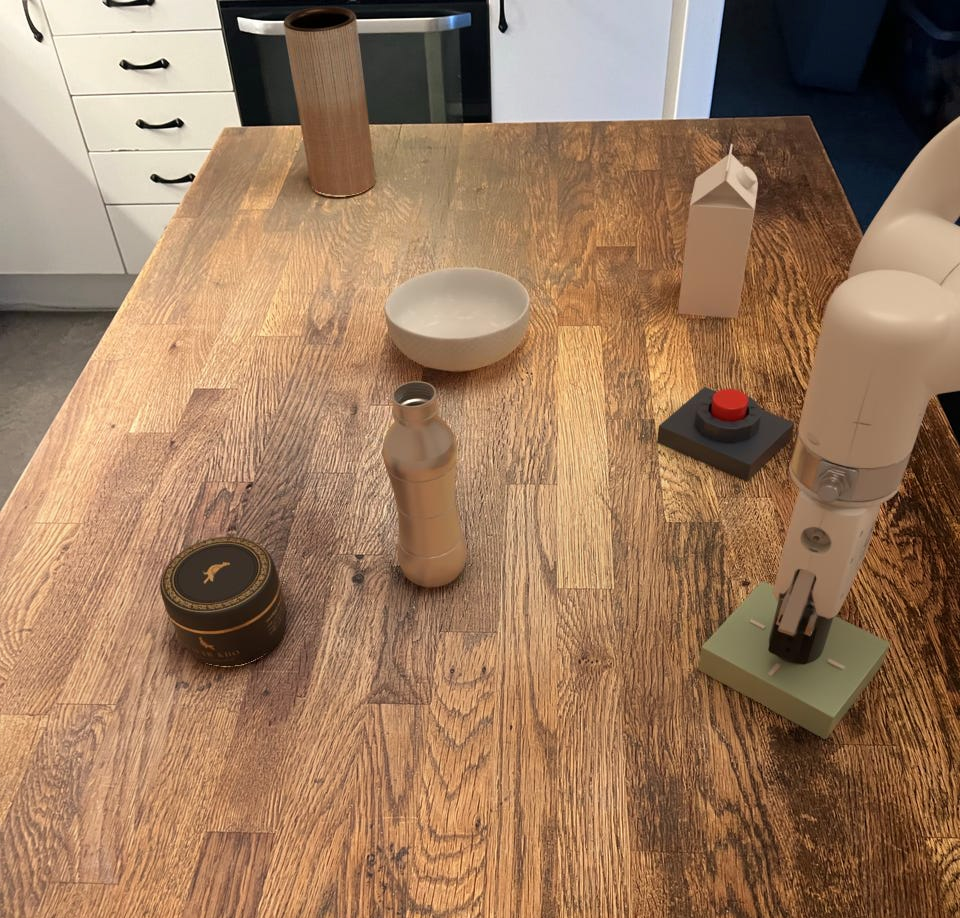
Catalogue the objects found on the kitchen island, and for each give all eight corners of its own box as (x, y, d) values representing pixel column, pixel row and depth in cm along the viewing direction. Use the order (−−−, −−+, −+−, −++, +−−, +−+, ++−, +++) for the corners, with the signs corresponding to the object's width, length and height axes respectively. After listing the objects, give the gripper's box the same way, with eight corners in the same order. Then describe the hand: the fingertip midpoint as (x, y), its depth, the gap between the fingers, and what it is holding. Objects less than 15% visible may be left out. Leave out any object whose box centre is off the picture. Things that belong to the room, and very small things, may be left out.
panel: (881, 666, 85) (891, 641, 82) (825, 740, 80) (834, 716, 77) (756, 603, 90) (762, 578, 88) (696, 669, 85) (701, 645, 83)
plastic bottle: (481, 561, 96) (470, 382, 81) (444, 606, 92) (425, 427, 77) (425, 540, 98) (404, 362, 83) (386, 583, 94) (357, 405, 79)
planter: (309, 175, 156) (281, 10, 139) (372, 167, 157) (352, 2, 140) (313, 202, 150) (284, 33, 133) (379, 194, 150) (359, 24, 134)
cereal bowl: (551, 332, 122) (552, 278, 117) (496, 406, 112) (494, 350, 107) (429, 307, 128) (424, 255, 122) (365, 376, 118) (357, 322, 112)
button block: (790, 439, 106) (798, 407, 103) (747, 482, 102) (753, 450, 99) (702, 403, 111) (706, 372, 108) (656, 442, 107) (660, 411, 104)
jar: (165, 670, 88) (139, 610, 82) (201, 590, 95) (180, 530, 89) (274, 678, 87) (255, 618, 81) (303, 597, 93) (287, 536, 88)
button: (752, 410, 104) (755, 396, 102) (734, 427, 102) (736, 413, 101) (722, 398, 105) (724, 384, 104) (704, 415, 104) (706, 400, 102)
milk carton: (675, 326, 122) (693, 168, 108) (682, 297, 126) (699, 142, 112) (735, 331, 120) (760, 172, 106) (739, 302, 125) (764, 145, 111)
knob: (814, 671, 81) (830, 622, 76) (761, 653, 82) (773, 604, 78) (829, 635, 83) (845, 586, 79) (777, 618, 85) (790, 569, 80)
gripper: (869, 548, 62) (810, 724, 76) (935, 406, 72) (872, 585, 85) (753, 512, 65) (717, 689, 78) (832, 380, 74) (787, 558, 88)
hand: (798, 633), depth 82 cm, fingers closed on knob, 4 cm apart
